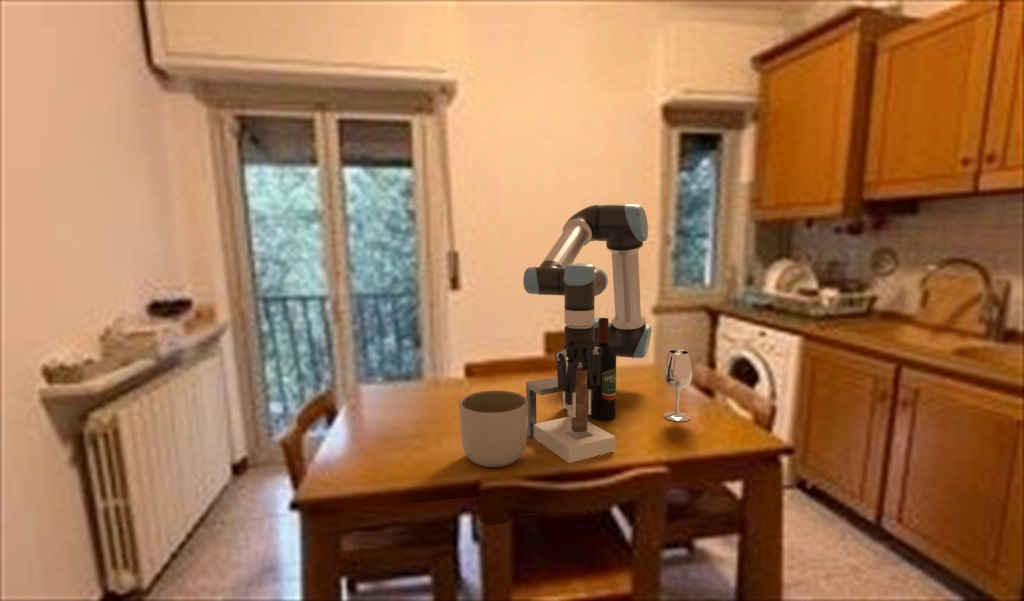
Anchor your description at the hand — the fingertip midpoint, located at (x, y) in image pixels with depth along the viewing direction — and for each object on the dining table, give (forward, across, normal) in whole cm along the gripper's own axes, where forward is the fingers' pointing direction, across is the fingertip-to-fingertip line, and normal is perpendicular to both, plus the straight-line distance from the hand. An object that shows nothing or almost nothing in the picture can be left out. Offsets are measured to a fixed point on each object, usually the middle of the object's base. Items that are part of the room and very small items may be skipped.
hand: (579, 414), depth 145 cm
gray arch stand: (+9, 0, -10) cm, 14 cm away
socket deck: (+9, 0, -3) cm, 10 cm away
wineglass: (+10, -38, -5) cm, 39 cm away
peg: (+4, 0, 0) cm, 4 cm away
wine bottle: (+10, -19, -16) cm, 27 cm away
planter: (+10, +22, -5) cm, 25 cm away
